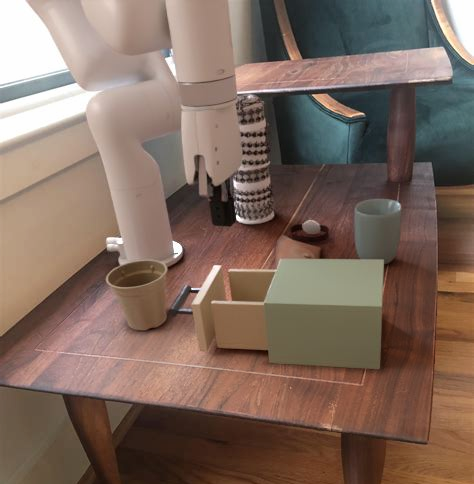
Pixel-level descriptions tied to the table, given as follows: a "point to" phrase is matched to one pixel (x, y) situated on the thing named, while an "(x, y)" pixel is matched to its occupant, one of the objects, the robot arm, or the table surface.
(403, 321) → the table surface
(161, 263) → the flower pot
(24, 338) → the table surface
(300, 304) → the cabinet
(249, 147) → the decorative candle
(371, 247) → the cup
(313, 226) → the watch
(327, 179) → the table surface
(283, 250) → the sunglasses case
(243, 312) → the drawer
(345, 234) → the table surface
